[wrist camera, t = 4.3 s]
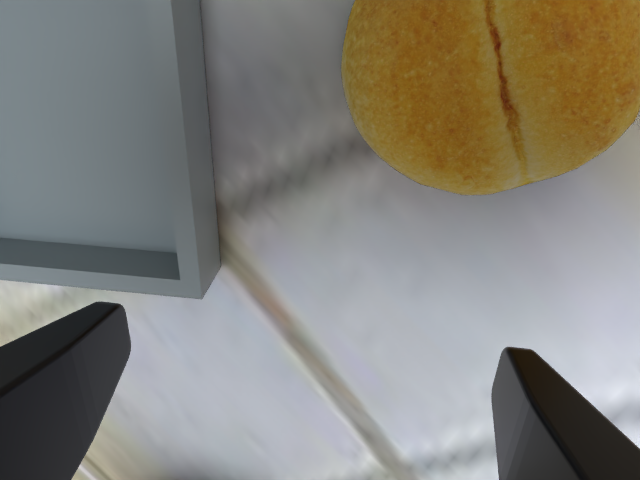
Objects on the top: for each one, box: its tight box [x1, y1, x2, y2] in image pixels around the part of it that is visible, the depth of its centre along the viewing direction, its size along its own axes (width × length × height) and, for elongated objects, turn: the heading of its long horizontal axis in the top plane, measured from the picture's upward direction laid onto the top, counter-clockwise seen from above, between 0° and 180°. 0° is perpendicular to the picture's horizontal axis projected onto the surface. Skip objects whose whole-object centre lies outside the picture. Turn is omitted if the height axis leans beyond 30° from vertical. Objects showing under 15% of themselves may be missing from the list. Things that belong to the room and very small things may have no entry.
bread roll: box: [341, 0, 640, 195], centre depth 15 cm, size 8×9×4 cm
